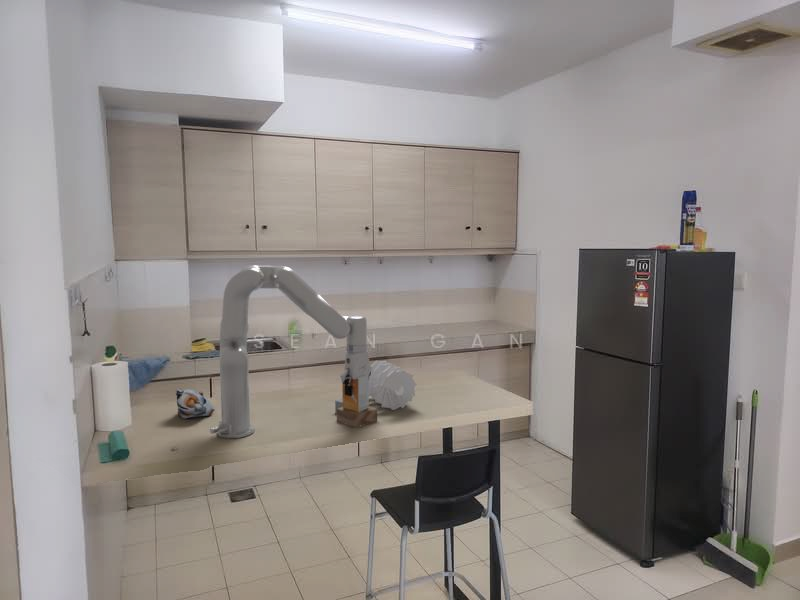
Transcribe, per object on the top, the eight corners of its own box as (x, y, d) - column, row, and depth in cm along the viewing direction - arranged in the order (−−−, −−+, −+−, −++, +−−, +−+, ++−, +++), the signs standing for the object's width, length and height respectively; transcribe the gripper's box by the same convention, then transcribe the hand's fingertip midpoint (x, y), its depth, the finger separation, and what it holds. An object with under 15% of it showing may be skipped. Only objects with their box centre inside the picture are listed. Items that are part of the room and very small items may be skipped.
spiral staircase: (384, 404, 241) (409, 418, 219) (350, 391, 234) (373, 404, 211) (399, 365, 244) (426, 375, 221) (366, 352, 236) (390, 360, 214)
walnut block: (355, 428, 200) (354, 415, 199) (336, 421, 208) (336, 408, 207) (377, 421, 207) (377, 408, 207) (359, 414, 215) (358, 402, 215)
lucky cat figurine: (221, 413, 215) (215, 387, 207) (196, 432, 207) (189, 407, 199) (196, 397, 222) (189, 372, 214) (171, 415, 214) (163, 389, 206)
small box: (342, 408, 207) (341, 375, 205) (353, 404, 212) (352, 371, 210) (358, 412, 202) (358, 378, 201) (369, 408, 208) (368, 374, 206)
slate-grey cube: (344, 415, 214) (344, 403, 213) (335, 413, 217) (335, 400, 216) (353, 412, 218) (353, 400, 217) (343, 409, 221) (343, 397, 220)
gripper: (349, 353, 196) (349, 399, 198) (378, 346, 210) (378, 389, 212) (333, 350, 200) (334, 396, 202) (363, 343, 214) (363, 386, 216)
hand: (356, 392), depth 207 cm, fingers open, 9 cm apart
